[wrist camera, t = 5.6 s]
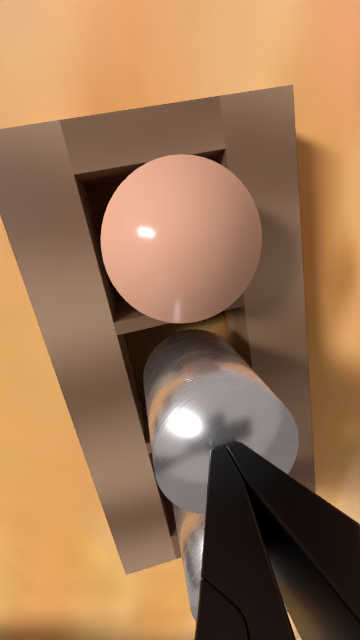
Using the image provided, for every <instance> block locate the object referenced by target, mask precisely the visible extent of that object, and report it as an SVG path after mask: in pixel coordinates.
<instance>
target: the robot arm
mask: <svg viewBox="0 0 360 640" xmlns="http://www.w3.org/2000/svg"><path fill="white" fill-rule="evenodd" d="M284 604H285V605H284ZM285 606H286V608H287V610H288V612H289V614H290V616H291V618H292V621H293V623H294V625H295V627H296V629H297V631H298V633H299V635H300V637H301V639H302V640H360V524H359V523H357V522H356V521H355V520H353V519H352V518H350V517H349V516H347V515H346V514H344V513H343V512H342V511H340V510H339V509H337V508H336V507H334V506H333V505H331V504H330V503H329V502H327V501H326V500H324V499H323V498H321V497H320V496H318V495H317V494H316V493H314V492H313V491H311V490H310V489H308V488H307V487H305V486H304V485H303V484H301V483H300V482H298V481H297V480H295V479H294V478H292V477H291V476H290V475H288V474H287V473H285V472H284V471H282V470H281V469H279V468H278V467H277V466H275V465H274V464H272V463H271V462H269V461H268V460H266V459H265V458H264V457H262V456H261V455H259V454H258V453H256V452H255V451H253V450H252V449H250V448H249V447H248V446H246V445H245V444H243V443H242V442H235V443H232V444H228V445H227V446H226V447H224V446H221V447H218V448H214V449H211V451H210V458H209V471H208V485H207V498H206V512H205V525H204V539H203V552H202V566H201V580H200V589H199V602H198V612H197V621H196V631H195V638H194V640H296V639H295V636H294V633H293V630H292V627H291V624H290V621H289V617H288V614H287V611H286V608H285Z"/></svg>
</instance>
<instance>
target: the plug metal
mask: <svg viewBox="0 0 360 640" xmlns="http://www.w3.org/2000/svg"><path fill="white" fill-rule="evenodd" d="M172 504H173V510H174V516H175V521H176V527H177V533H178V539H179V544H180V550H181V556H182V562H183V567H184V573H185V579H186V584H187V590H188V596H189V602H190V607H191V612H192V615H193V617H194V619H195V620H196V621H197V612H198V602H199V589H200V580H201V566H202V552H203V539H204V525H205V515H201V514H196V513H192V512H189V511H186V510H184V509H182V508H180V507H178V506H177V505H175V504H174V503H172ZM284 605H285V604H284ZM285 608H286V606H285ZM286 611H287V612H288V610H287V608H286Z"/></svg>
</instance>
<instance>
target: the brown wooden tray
mask: <svg viewBox="0 0 360 640" xmlns="http://www.w3.org/2000/svg"><path fill="white" fill-rule="evenodd" d="M179 154H184V155H195V156H200V157H204V158H207V159H209V160H212V161H215V162H216V163H218V164H220V165H222V166H224V167H225V168H227V169H228V170H229V171H231V172H232V173H233V174H234V175H235V176H236V177H237V178H238V179H239V180H240V181H241V182H242V183H243V184H244V186H245V187H246V188H247V190H248V191H249V193H250V195H251V196H252V198H253V200H254V203H255V205H256V207H257V210H258V214H259V217H260V222H261V228H262V247H261V254H260V259H259V263H258V266H257V269H256V271H255V273H254V276H253V278H252V280H251V282H250V283H249V285H248V286H247V288H246V289H245V291H244V292H243V293H242V294H241V296H240V297H239V298H238V299H237V300H236V301H235V302H234V303H233V304H231V305H230V306H229V307H228V308H226V309H225V310H223V311H225V318H226V325H227V332H228V339H229V344H230V345H231V346H232V347H233V349H234V350H235V351H236V352H237V353H238V354H239V355H240V356H241V357H242V359H243V360H244V361H245V362H246V363H247V364H248V365H249V366H250V367H251V369H252V370H253V371H254V372H255V373H256V374H257V375H258V376H259V377H260V379H261V380H262V381H263V382H264V383H265V384H266V385H267V386H268V387H269V389H270V390H271V391H272V392H273V393H274V394H275V395H276V396H277V397H278V399H279V400H280V401H281V402H282V403H283V404H284V405H285V406H286V407H287V409H288V410H289V411H290V413H291V414H292V416H293V418H294V420H295V422H296V425H297V429H298V435H299V445H298V452H297V455H296V459H295V462H294V464H293V466H292V468H291V470H290V472H289V474H288V475H290V476H291V477H292V478H294V479H295V480H297V481H298V482H300V483H301V484H303V485H304V486H305V487H307V488H308V489H310V490H311V491H313V492H314V493H315V475H314V457H313V439H312V421H311V403H310V385H309V367H308V348H307V330H306V312H305V294H304V276H303V258H302V240H301V222H300V204H299V185H298V167H297V149H296V131H295V113H294V95H293V85H288V86H282V87H275V88H269V89H262V90H255V91H249V92H242V93H236V94H229V95H222V96H216V97H209V98H203V99H196V100H189V101H183V102H176V103H170V104H163V105H156V106H150V107H143V108H137V109H130V110H123V111H117V112H110V113H104V114H97V115H90V116H84V117H77V118H71V119H64V120H57V121H51V122H44V123H38V124H31V125H24V126H18V127H11V128H5V129H0V215H1V218H2V221H3V224H4V227H5V230H6V232H7V235H8V238H9V241H10V244H11V247H12V250H13V252H14V255H15V258H16V261H17V264H18V267H19V270H20V273H21V275H22V278H23V281H24V284H25V287H26V290H27V293H28V295H29V298H30V301H31V304H32V307H33V310H34V313H35V315H36V318H37V321H38V324H39V327H40V330H41V333H42V335H43V338H44V341H45V344H46V347H47V350H48V353H49V356H50V358H51V361H52V364H53V367H54V370H55V373H56V376H57V378H58V381H59V384H60V387H61V390H62V393H63V396H64V398H65V401H66V404H67V407H68V410H69V413H70V416H71V418H72V421H73V424H74V427H75V430H76V433H77V436H78V438H79V441H80V444H81V447H82V450H83V453H84V456H85V459H86V461H87V464H88V467H89V470H90V473H91V476H92V479H93V481H94V484H95V487H96V490H97V493H98V496H99V499H100V501H101V504H102V507H103V510H104V513H105V516H106V519H107V521H108V524H109V527H110V530H111V533H112V536H113V539H114V541H115V544H116V547H117V550H118V553H119V556H120V559H121V562H122V564H123V567H124V570H125V573H126V575H127V574H130V573H133V572H137V571H140V570H143V569H146V568H149V567H152V566H156V565H159V564H162V563H165V562H168V561H171V560H174V559H178V558H181V557H182V556H181V550H180V544H179V539H178V533H177V527H176V521H175V516H174V510H173V504H172V502H171V501H170V500H169V499H168V498H167V497H166V496H165V495H164V493H163V492H162V490H161V489H160V487H159V485H158V483H157V480H156V477H155V471H154V464H153V456H152V448H151V440H150V432H149V424H148V416H147V408H146V404H145V405H142V404H141V400H140V396H139V392H138V389H137V385H136V381H135V377H134V373H133V369H132V365H131V362H130V358H129V354H128V350H127V346H126V342H125V338H124V334H125V333H129V332H134V331H138V330H142V329H146V328H151V327H155V326H159V325H164V324H168V323H169V322H164V321H160V320H157V319H154V318H151V317H149V316H147V315H145V314H143V313H141V312H139V311H138V310H137V309H135V308H134V307H132V306H131V305H130V304H129V303H128V302H127V301H125V302H120V303H116V304H115V300H114V296H113V292H112V288H111V284H110V280H109V277H108V274H107V271H106V268H105V265H104V262H103V257H102V252H101V246H100V242H99V238H98V234H97V230H96V226H95V223H94V219H93V215H92V211H91V207H90V203H89V199H88V195H87V192H86V188H85V186H90V185H96V184H102V183H107V182H113V181H119V180H125V179H126V178H127V177H128V176H129V175H130V174H131V173H132V172H134V171H135V170H136V169H137V168H139V167H141V166H142V165H144V164H146V163H148V162H150V161H152V160H155V159H157V158H161V157H165V156H169V155H179Z"/></svg>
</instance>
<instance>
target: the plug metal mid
mask: <svg viewBox="0 0 360 640" xmlns="http://www.w3.org/2000/svg"><path fill="white" fill-rule="evenodd" d="M143 384H144V392H145V400H146V408H147V416H148V424H149V432H150V440H151V448H152V456H153V464H154V471H155V477H156V480H157V483H158V485H159V487H160V489H161V490H162V492H163V493H164V495H165V496H166V497H167V498H168V499H169V500H170V501H171V502H172V503H174V504H175V505H177V506H178V507H180V508H182V509H184V510H186V511H189V512H192V513H196V514H201V515H205V512H206V498H207V485H208V471H209V458H210V451H211V449H214V448H218V447H221V446H224V447H226V446H227V445H228V444H232V443H235V442H242V443H243V444H245V445H246V446H248V447H249V448H250V449H252V450H253V451H255V452H256V453H258V454H259V455H261V456H262V457H264V458H265V459H266V460H268V461H269V462H271V463H272V464H274V465H275V466H277V467H278V468H279V469H281V470H282V471H284V472H285V473H287V474H289V472H290V470H291V468H292V466H293V464H294V462H295V459H296V455H297V452H298V445H299V435H298V429H297V425H296V422H295V420H294V418H293V416H292V414H291V413H290V411H289V410H288V409H287V407H286V406H285V405H284V404H283V403H282V402H281V401H280V400H279V399H278V397H277V396H276V395H275V394H274V393H273V392H272V391H271V390H270V389H269V387H268V386H267V385H266V384H265V383H264V382H263V381H262V380H261V379H260V377H259V376H258V375H257V374H256V373H255V372H254V371H253V370H252V369H251V367H250V366H249V365H248V364H247V363H246V362H245V361H244V360H243V359H242V357H241V356H240V355H239V354H238V353H237V352H236V351H235V350H234V349H233V347H232V346H231V345H230V344H229V343H228V342H227V341H226V340H225V339H223V338H222V337H221V336H219V335H217V334H215V333H213V332H210V331H206V330H198V329H193V330H185V331H181V332H178V333H175V334H173V335H171V336H169V337H167V338H166V339H164V340H163V341H162V342H160V343H159V344H158V345H157V346H156V347H155V348H154V350H153V351H152V352H151V354H150V356H149V357H148V359H147V362H146V364H145V368H144V373H143Z"/></svg>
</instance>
